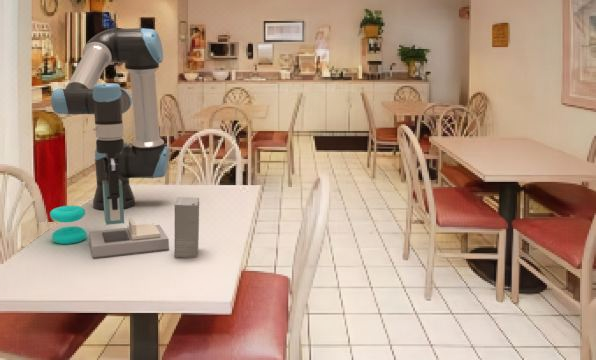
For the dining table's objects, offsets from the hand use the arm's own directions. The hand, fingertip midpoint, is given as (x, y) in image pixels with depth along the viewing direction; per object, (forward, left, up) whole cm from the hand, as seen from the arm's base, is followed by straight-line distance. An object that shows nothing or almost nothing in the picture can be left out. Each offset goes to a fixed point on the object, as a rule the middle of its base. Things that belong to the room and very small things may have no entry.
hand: (114, 217), depth 180 cm
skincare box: (+13, +19, -9) cm, 24 cm away
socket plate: (0, +4, -9) cm, 10 cm away
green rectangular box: (0, 0, -1) cm, 1 cm away
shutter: (0, +8, -6) cm, 10 cm away
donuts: (-13, -12, -9) cm, 20 cm away
